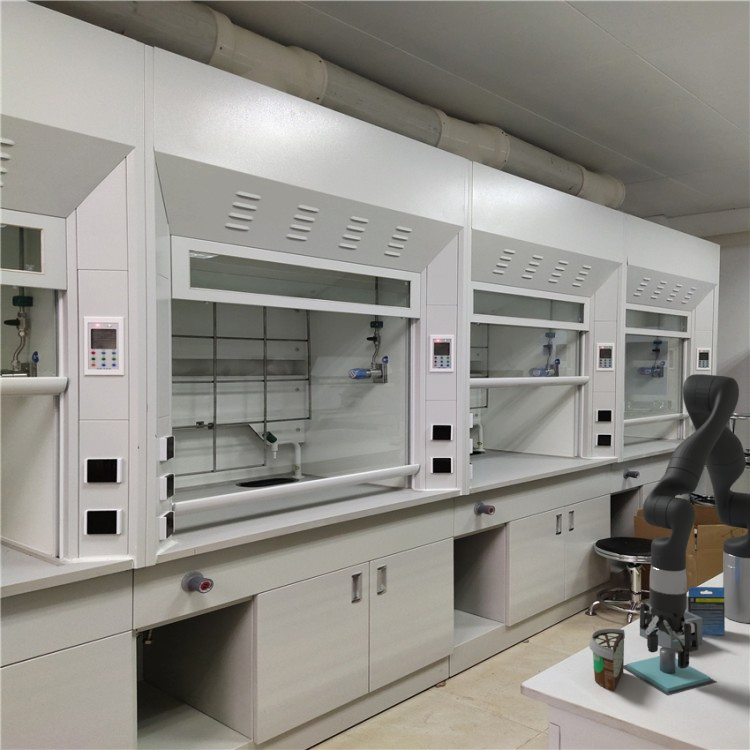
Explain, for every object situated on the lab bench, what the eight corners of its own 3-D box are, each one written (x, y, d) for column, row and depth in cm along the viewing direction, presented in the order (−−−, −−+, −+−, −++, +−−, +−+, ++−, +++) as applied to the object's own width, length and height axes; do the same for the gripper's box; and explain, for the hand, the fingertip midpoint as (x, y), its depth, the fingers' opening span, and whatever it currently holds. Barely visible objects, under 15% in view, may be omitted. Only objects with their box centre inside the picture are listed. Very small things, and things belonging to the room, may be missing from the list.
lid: (667, 657, 160) (667, 635, 160) (710, 680, 149) (710, 656, 149) (626, 667, 155) (626, 644, 155) (667, 692, 144) (667, 667, 144)
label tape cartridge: (718, 629, 176) (719, 582, 176) (725, 635, 172) (725, 587, 172) (682, 628, 177) (683, 581, 177) (688, 635, 173) (688, 586, 173)
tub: (670, 630, 176) (670, 603, 176) (702, 646, 167) (702, 618, 166) (639, 637, 172) (639, 610, 172) (670, 654, 163) (670, 625, 163)
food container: (596, 666, 157) (596, 623, 157) (624, 672, 154) (624, 628, 154) (582, 690, 147) (582, 644, 146) (612, 697, 144) (612, 650, 143)
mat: (667, 657, 161) (667, 654, 161) (717, 684, 148) (717, 681, 148) (620, 668, 156) (620, 666, 156) (667, 698, 143) (667, 695, 143)
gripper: (707, 594, 146) (706, 670, 147) (656, 574, 159) (656, 643, 160) (680, 600, 143) (680, 676, 144) (631, 578, 156) (630, 649, 157)
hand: (667, 659), depth 152 cm, fingers open, 8 cm apart
